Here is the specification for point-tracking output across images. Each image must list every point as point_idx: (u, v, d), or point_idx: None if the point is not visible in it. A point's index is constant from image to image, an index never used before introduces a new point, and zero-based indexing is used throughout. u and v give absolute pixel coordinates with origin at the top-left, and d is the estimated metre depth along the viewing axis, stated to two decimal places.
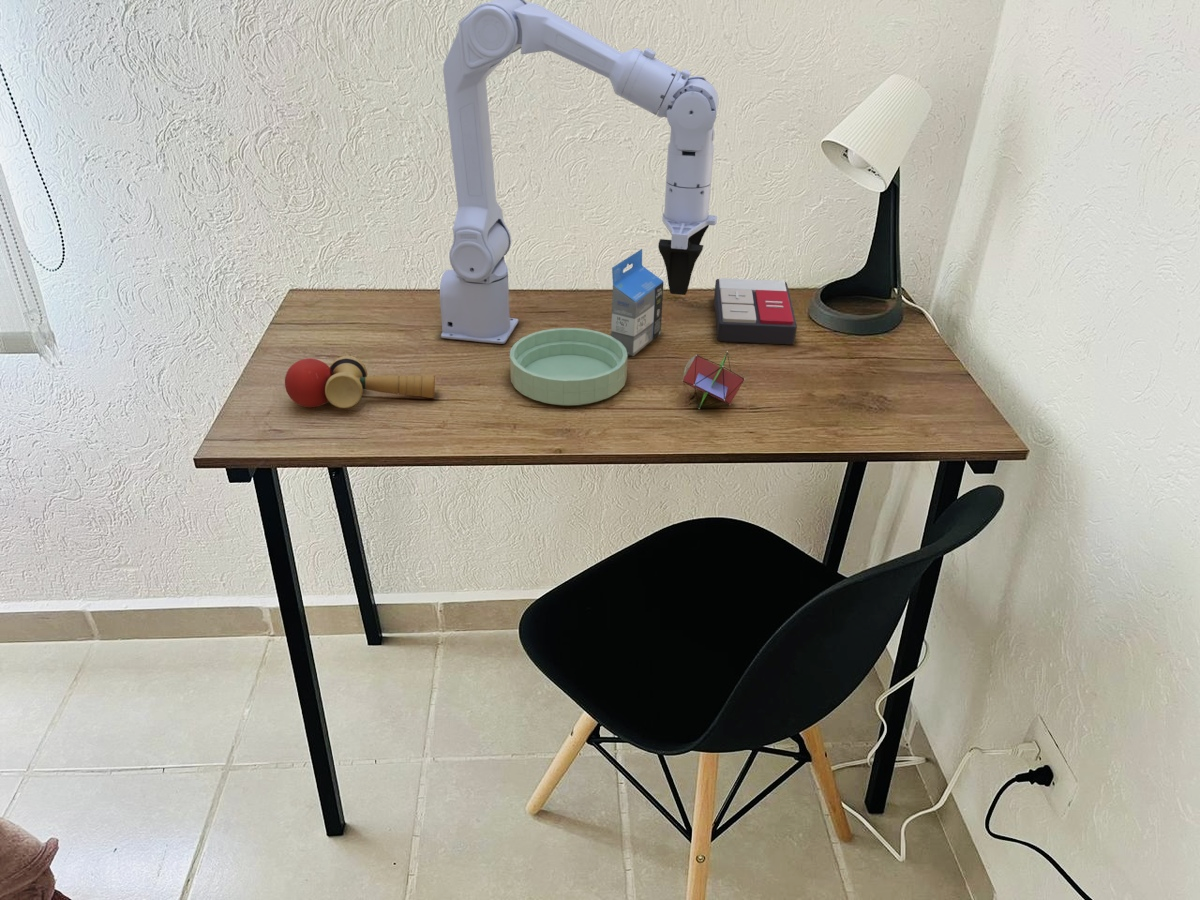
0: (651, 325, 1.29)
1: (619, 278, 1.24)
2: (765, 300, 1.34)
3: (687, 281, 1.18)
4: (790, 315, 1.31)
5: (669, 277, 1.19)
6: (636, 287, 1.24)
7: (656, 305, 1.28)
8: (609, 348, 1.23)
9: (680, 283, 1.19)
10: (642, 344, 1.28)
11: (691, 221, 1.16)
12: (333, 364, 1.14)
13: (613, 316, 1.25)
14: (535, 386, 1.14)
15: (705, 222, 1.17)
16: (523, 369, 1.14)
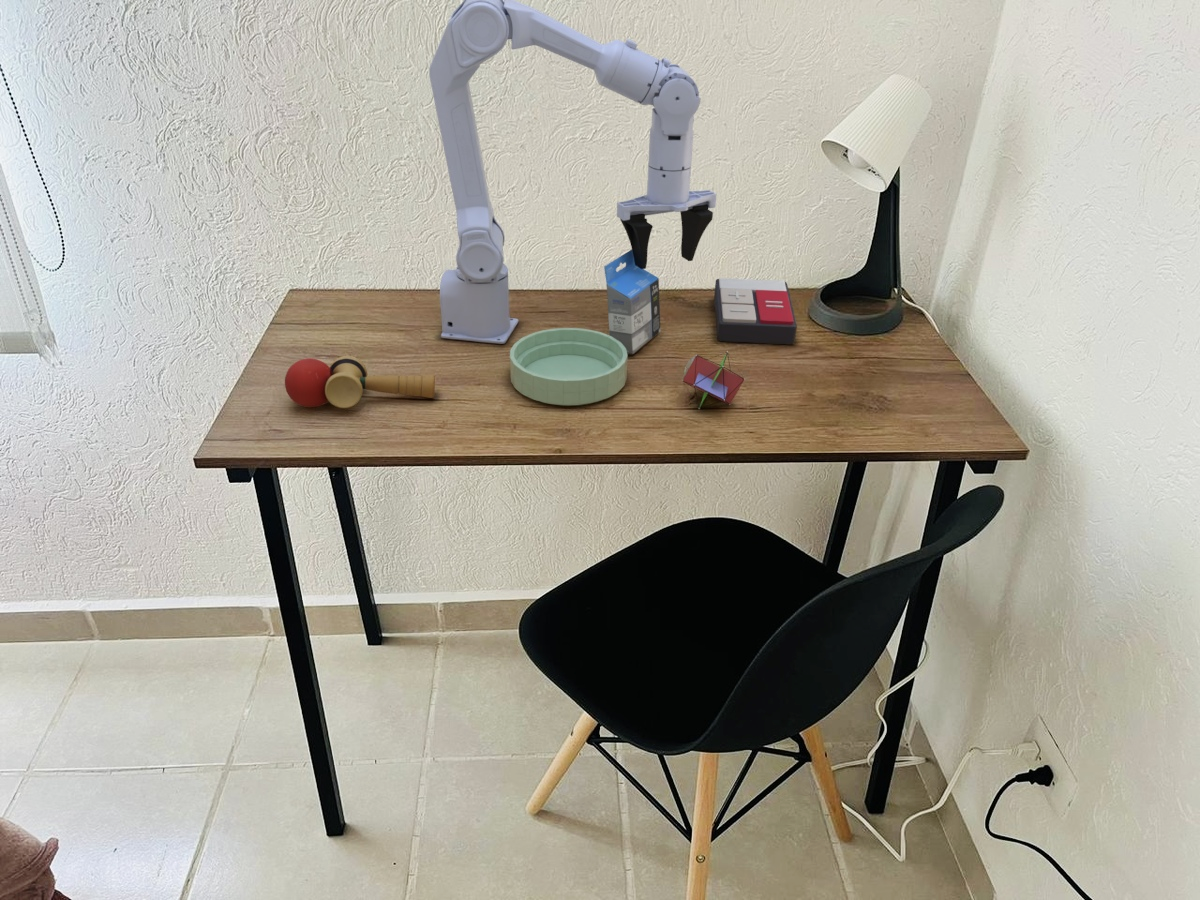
0: (649, 322, 1.29)
1: (613, 277, 1.24)
2: (765, 300, 1.34)
3: (641, 256, 1.25)
4: (790, 315, 1.31)
5: (632, 248, 1.27)
6: (630, 285, 1.25)
7: (653, 302, 1.28)
8: (609, 348, 1.23)
9: (638, 256, 1.26)
10: (641, 342, 1.28)
11: (654, 201, 1.22)
12: (333, 364, 1.14)
13: (610, 315, 1.25)
14: (535, 386, 1.14)
15: (667, 206, 1.22)
16: (523, 369, 1.14)
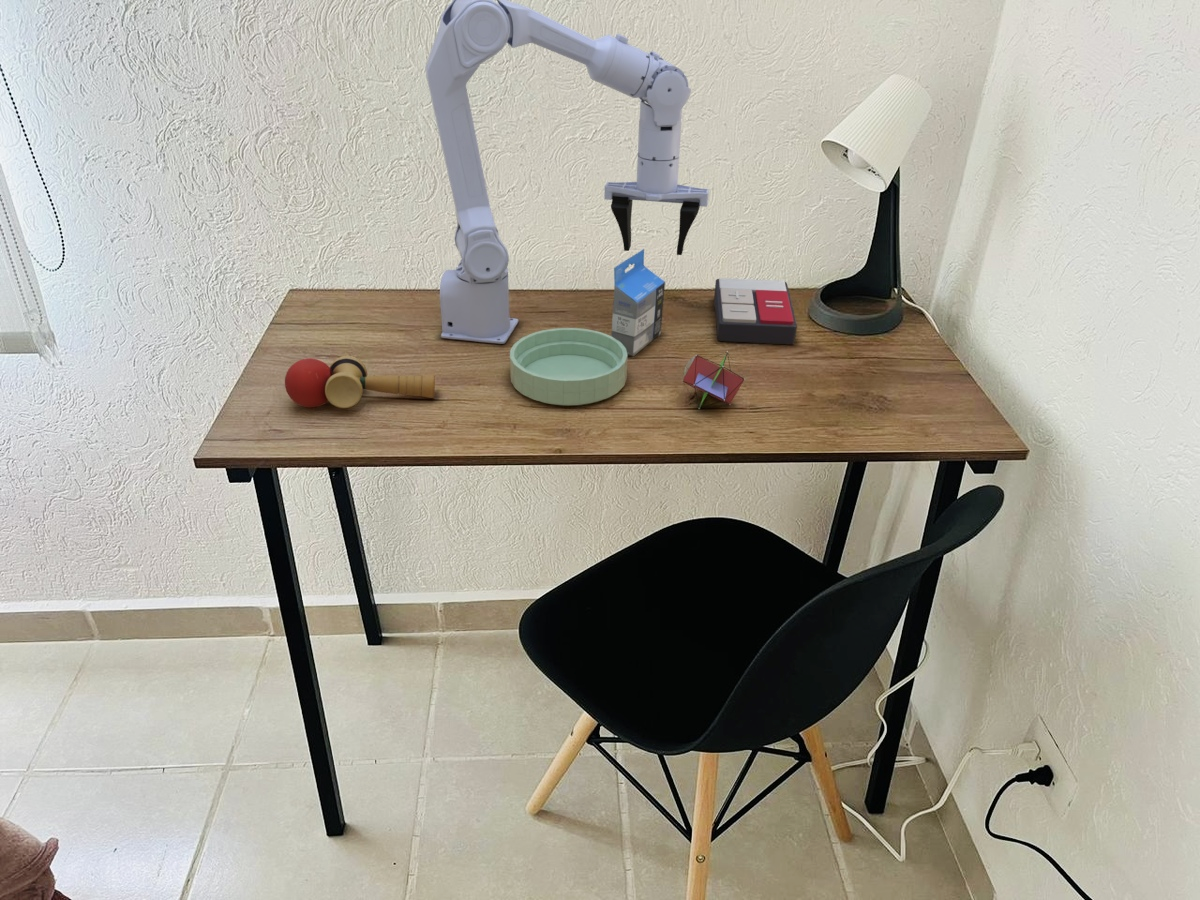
0: (652, 325, 1.29)
1: (621, 278, 1.24)
2: (765, 300, 1.34)
3: (622, 237, 1.31)
4: (790, 315, 1.31)
5: None
6: (637, 288, 1.24)
7: (657, 306, 1.28)
8: (609, 348, 1.23)
9: None
10: (642, 344, 1.28)
11: (636, 186, 1.27)
12: (333, 364, 1.14)
13: (614, 316, 1.25)
14: (535, 386, 1.14)
15: (643, 193, 1.26)
16: (523, 369, 1.14)
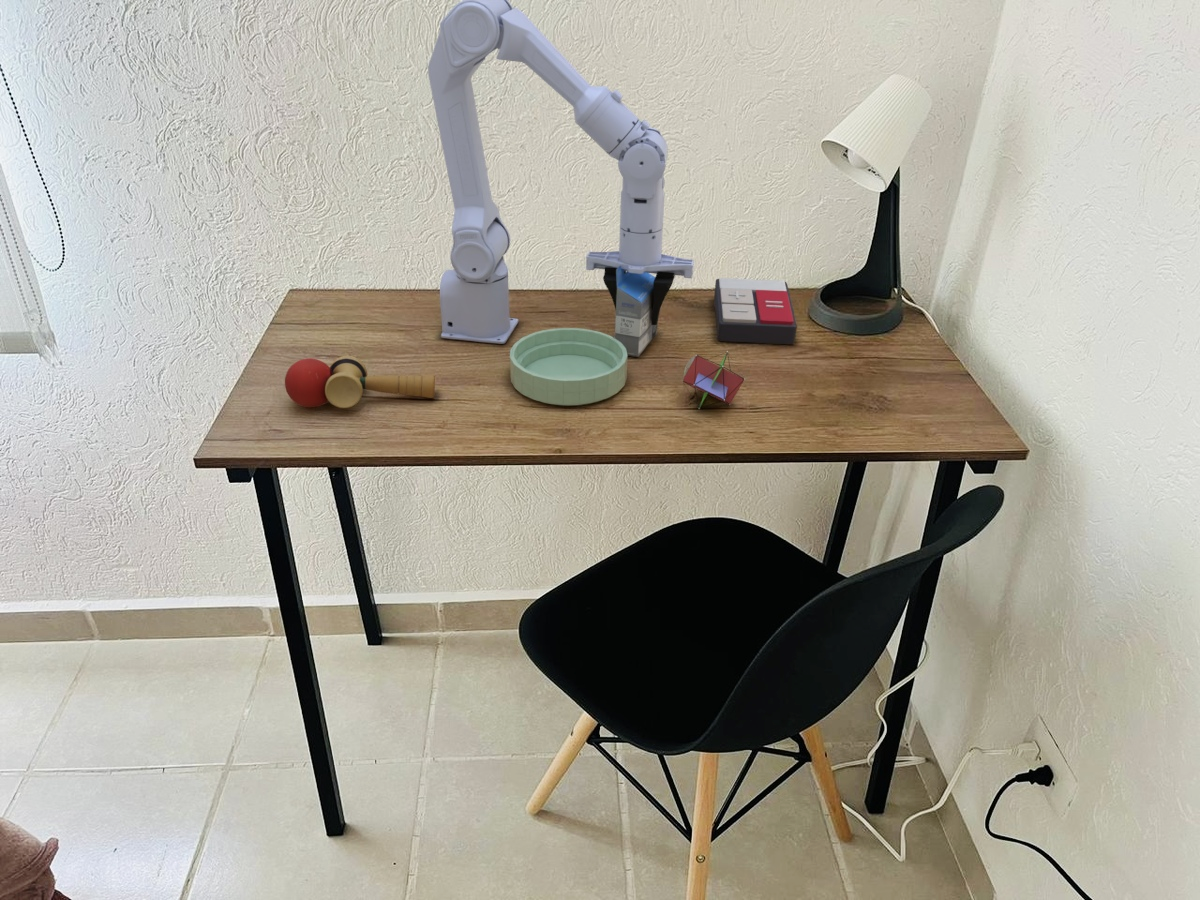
0: (651, 324, 1.29)
1: (621, 279, 1.23)
2: (765, 300, 1.34)
3: (615, 308, 1.27)
4: (790, 315, 1.31)
5: None
6: (638, 288, 1.24)
7: None
8: (609, 348, 1.23)
9: None
10: (645, 344, 1.28)
11: (619, 257, 1.23)
12: (333, 364, 1.14)
13: (617, 318, 1.24)
14: (535, 386, 1.14)
15: (625, 265, 1.22)
16: (523, 369, 1.14)
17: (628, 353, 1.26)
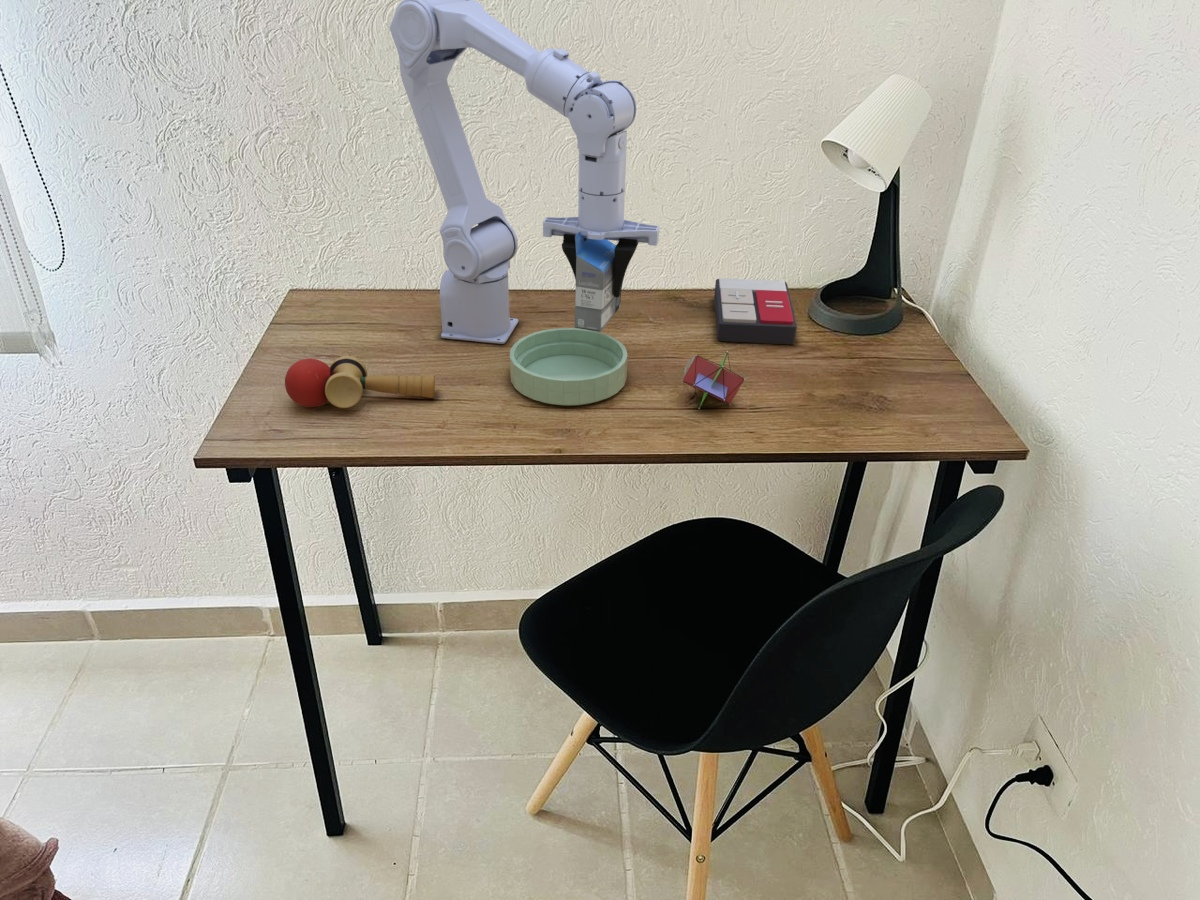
0: (614, 297, 1.20)
1: (581, 247, 1.14)
2: (765, 300, 1.34)
3: None
4: (790, 315, 1.31)
5: None
6: (599, 256, 1.15)
7: None
8: (609, 348, 1.23)
9: None
10: (608, 318, 1.19)
11: (578, 223, 1.14)
12: (333, 364, 1.14)
13: (577, 289, 1.15)
14: (535, 386, 1.14)
15: (584, 231, 1.12)
16: (523, 369, 1.14)
17: (590, 327, 1.17)
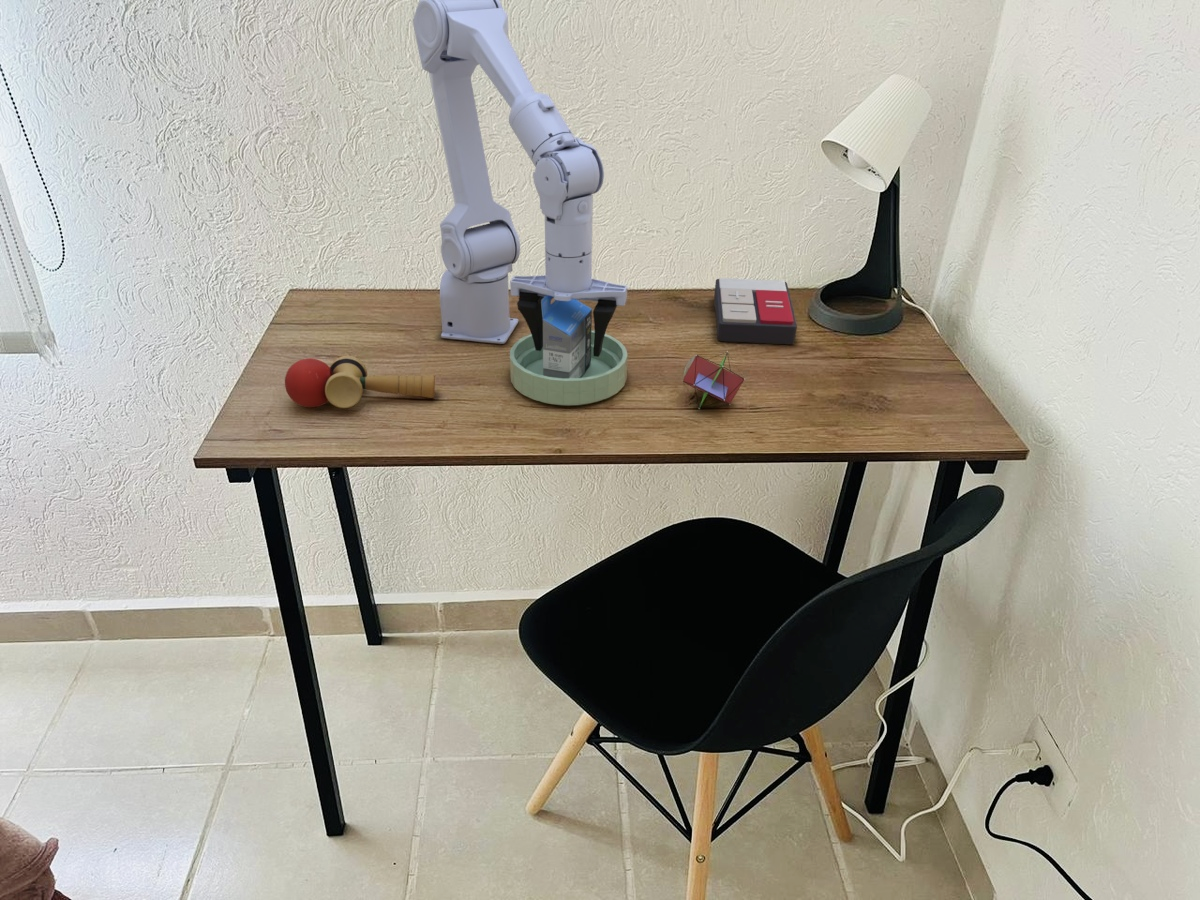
0: (583, 357, 1.19)
1: (548, 310, 1.13)
2: (765, 300, 1.34)
3: None
4: (790, 315, 1.31)
5: None
6: (566, 319, 1.14)
7: (586, 335, 1.19)
8: (609, 348, 1.23)
9: None
10: None
11: (545, 283, 1.13)
12: (333, 364, 1.14)
13: (545, 352, 1.14)
14: (535, 386, 1.14)
15: (551, 291, 1.11)
16: (523, 369, 1.14)
17: None
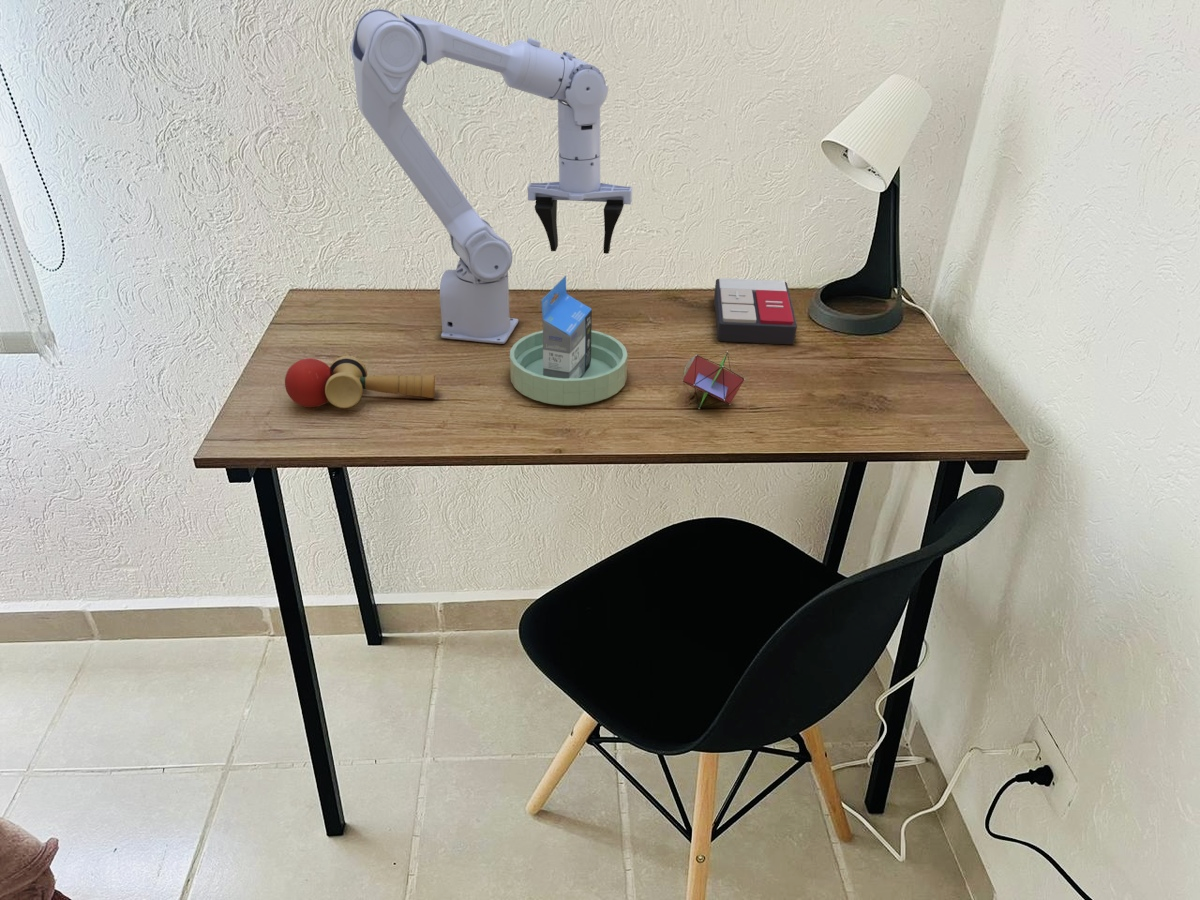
0: (583, 357, 1.19)
1: (548, 310, 1.13)
2: (765, 300, 1.34)
3: None
4: (790, 315, 1.31)
5: None
6: (566, 319, 1.14)
7: (586, 335, 1.19)
8: (609, 348, 1.23)
9: None
10: None
11: (559, 186, 1.27)
12: (333, 364, 1.14)
13: (545, 352, 1.14)
14: (535, 386, 1.14)
15: (565, 193, 1.25)
16: (523, 369, 1.14)
17: None
